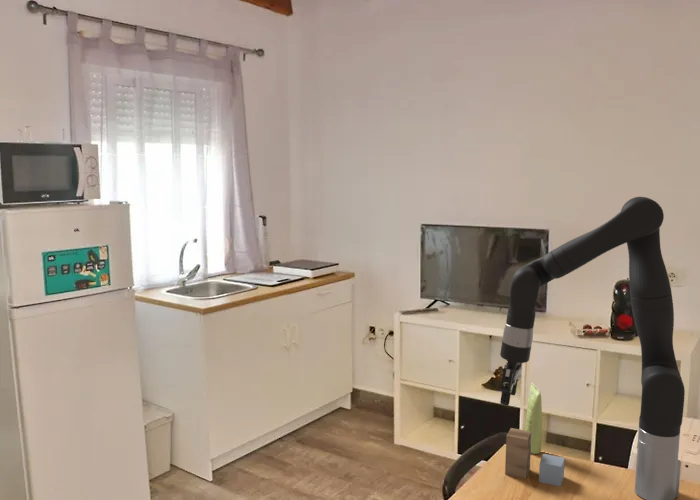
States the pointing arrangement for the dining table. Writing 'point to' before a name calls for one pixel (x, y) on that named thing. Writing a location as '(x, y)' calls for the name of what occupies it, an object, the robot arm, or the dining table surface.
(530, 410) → the tube
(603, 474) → the dining table surface
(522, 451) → the tower upper
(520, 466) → the tower lower
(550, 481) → the slate block
